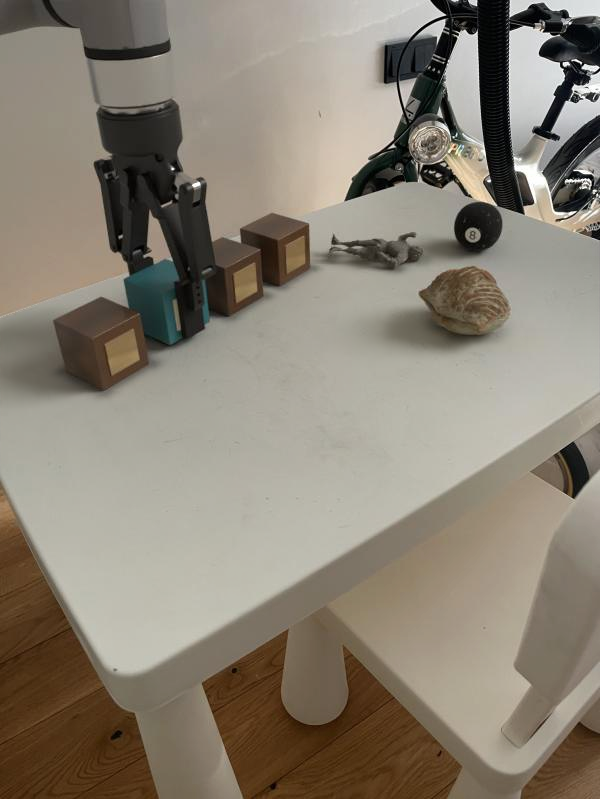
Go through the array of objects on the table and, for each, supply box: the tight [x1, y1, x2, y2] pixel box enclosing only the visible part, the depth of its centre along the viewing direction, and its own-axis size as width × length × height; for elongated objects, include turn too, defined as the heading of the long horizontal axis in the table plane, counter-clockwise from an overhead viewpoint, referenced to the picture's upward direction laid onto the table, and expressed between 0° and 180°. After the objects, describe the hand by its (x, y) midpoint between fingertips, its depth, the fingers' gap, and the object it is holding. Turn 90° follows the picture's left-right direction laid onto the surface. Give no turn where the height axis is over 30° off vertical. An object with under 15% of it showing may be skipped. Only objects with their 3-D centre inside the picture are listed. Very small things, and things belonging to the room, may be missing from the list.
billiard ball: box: [453, 201, 504, 252], centre depth 94 cm, size 6×6×6 cm
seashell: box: [418, 265, 511, 336], centre depth 78 cm, size 9×7×8 cm
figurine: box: [328, 231, 425, 269], centre depth 93 cm, size 6×4×12 cm
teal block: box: [122, 258, 211, 346], centre depth 79 cm, size 6×6×6 cm
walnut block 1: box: [52, 296, 150, 391], centre depth 74 cm, size 6×6×6 cm
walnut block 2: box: [205, 236, 264, 317], centre depth 85 cm, size 6×6×6 cm
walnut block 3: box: [239, 212, 311, 287], centre depth 90 cm, size 6×6×6 cm
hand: (171, 323), depth 80 cm, fingers closed on teal block, 6 cm apart
